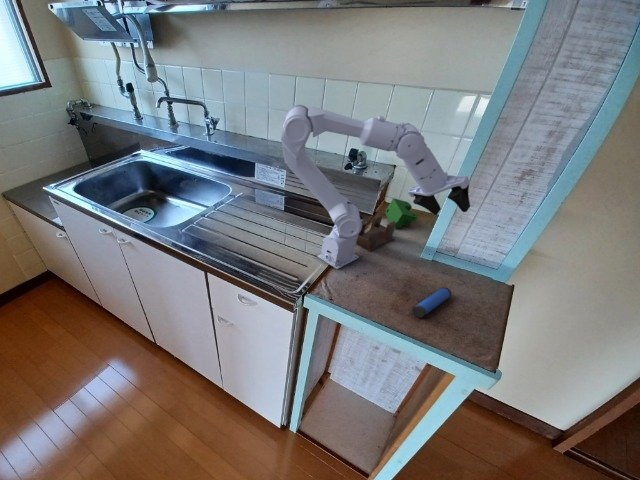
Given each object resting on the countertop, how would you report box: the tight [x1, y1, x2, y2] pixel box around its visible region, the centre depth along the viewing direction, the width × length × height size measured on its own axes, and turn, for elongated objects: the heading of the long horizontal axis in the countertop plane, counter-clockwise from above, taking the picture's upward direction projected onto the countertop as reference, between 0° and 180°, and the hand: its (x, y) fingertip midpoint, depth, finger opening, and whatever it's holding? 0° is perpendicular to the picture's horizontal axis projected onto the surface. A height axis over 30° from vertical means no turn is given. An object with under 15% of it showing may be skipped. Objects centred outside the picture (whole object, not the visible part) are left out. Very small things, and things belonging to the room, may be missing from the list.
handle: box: [411, 286, 453, 318], centre depth 80 cm, size 12×3×3 cm, turn 125°
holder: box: [356, 214, 397, 252], centre depth 102 cm, size 11×7×6 cm, turn 125°
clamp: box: [385, 198, 419, 229], centre depth 110 cm, size 12×6×9 cm, turn 170°
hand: (451, 210), depth 82 cm, fingers open, 7 cm apart
